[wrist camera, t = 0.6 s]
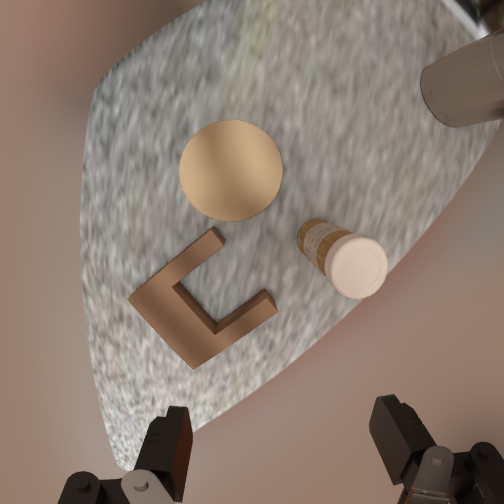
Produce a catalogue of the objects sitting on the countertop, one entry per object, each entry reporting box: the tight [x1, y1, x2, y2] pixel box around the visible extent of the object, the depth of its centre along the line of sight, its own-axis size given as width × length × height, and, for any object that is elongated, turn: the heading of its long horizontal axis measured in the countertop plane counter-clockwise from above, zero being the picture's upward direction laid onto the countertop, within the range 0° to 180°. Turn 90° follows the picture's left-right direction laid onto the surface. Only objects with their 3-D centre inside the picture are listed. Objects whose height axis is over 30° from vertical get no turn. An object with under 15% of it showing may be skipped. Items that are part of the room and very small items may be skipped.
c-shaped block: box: [127, 226, 278, 370], centre depth 33 cm, size 12×11×3 cm
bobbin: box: [179, 120, 283, 222], centre depth 27 cm, size 8×8×9 cm
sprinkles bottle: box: [297, 219, 388, 299], centre depth 27 cm, size 5×5×14 cm
